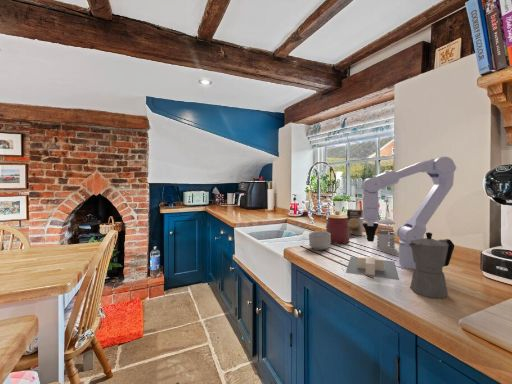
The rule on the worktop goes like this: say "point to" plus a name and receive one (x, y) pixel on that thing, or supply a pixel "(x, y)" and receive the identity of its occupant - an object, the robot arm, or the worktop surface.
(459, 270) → the worktop surface
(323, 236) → the teacup
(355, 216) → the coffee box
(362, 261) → the t block
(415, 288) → the coffeepot
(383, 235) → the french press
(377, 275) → the slate mat
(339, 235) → the canister
